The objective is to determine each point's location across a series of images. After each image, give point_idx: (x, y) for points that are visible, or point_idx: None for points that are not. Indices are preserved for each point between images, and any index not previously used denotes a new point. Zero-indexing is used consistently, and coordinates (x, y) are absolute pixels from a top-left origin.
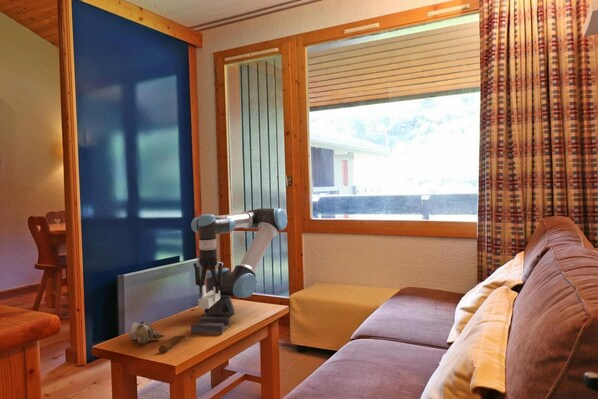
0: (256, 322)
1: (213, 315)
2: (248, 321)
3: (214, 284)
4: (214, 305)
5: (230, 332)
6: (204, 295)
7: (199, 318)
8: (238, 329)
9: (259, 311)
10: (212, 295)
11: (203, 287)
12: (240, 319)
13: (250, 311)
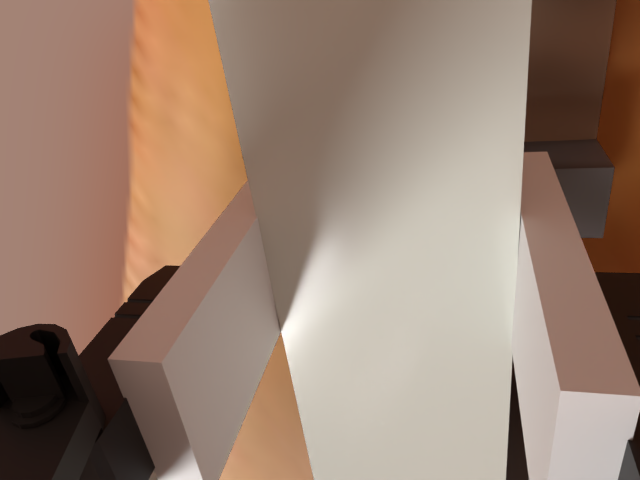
0: (131, 275)
1: (513, 371)
2: None
3: (69, 435)
4: (515, 460)
5: (201, 23)
6: (493, 199)
7: (605, 182)
8: (175, 112)
9: (229, 465)
10: (273, 202)
11: (557, 372)
12: (279, 335)
13: (288, 471)
